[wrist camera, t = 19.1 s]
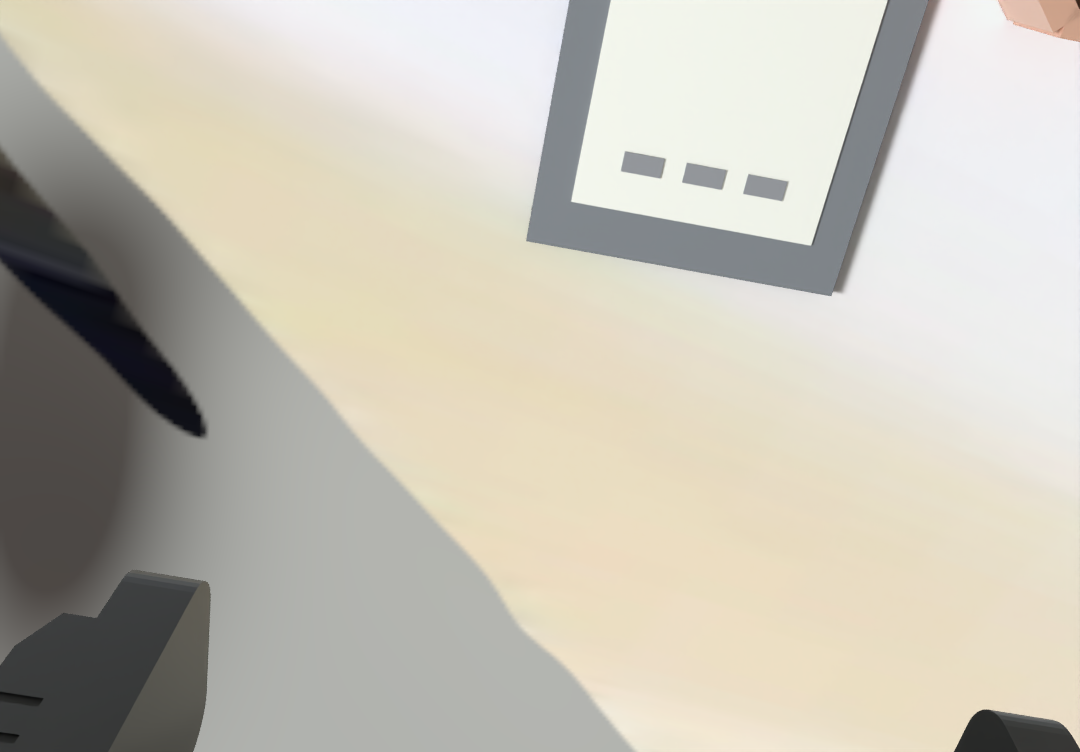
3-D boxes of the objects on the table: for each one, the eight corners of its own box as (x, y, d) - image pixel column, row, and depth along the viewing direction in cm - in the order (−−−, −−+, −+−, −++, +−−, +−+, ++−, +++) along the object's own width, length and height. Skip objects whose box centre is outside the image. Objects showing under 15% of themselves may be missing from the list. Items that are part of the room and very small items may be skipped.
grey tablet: (610, -230, 34) (611, -232, 34) (974, -155, 35) (981, -156, 34) (527, 237, 42) (526, 242, 41) (828, 291, 42) (832, 297, 42)
